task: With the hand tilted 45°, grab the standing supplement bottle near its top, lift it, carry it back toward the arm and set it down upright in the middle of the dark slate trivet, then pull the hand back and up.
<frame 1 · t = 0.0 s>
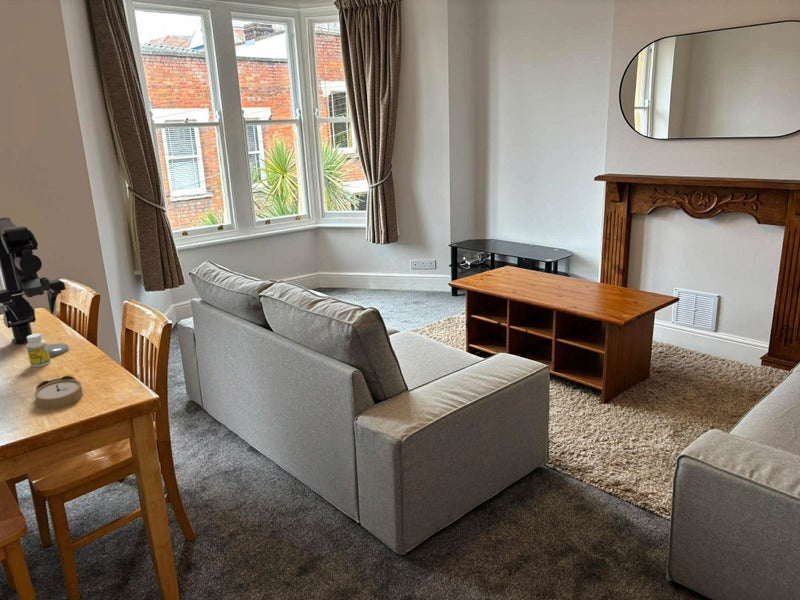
hand: (36, 317, 190), 15 cm above the table, tool pointing down, fingers open, 9 cm apart
alarm clock: (60, 398, 168), on the table
supplement bottle: (41, 364, 192), on the table
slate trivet: (50, 352, 202), on the table
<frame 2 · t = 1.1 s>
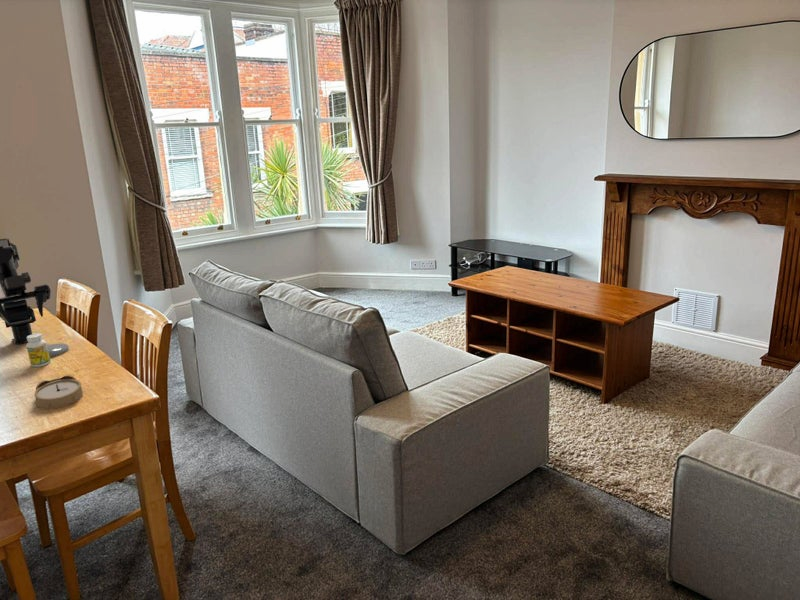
hand: (26, 319, 193), 13 cm above the table, tool tilted 45°, fingers open, 9 cm apart
nothing on the table moved.
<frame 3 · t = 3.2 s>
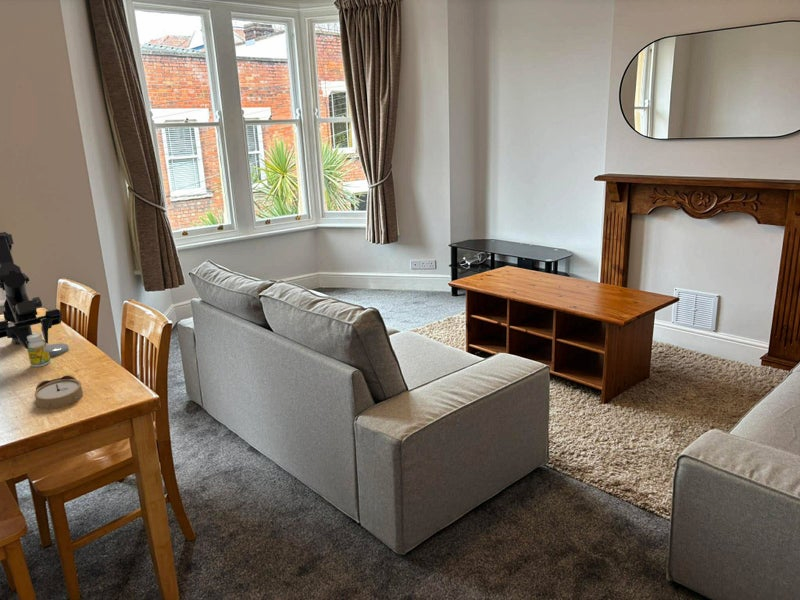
hand: (37, 345, 189), 7 cm above the table, tool tilted 45°, fingers closed on supplement bottle, 5 cm apart
supplement bottle: (41, 364, 192), on the table, touching gripper
everything else where it was.
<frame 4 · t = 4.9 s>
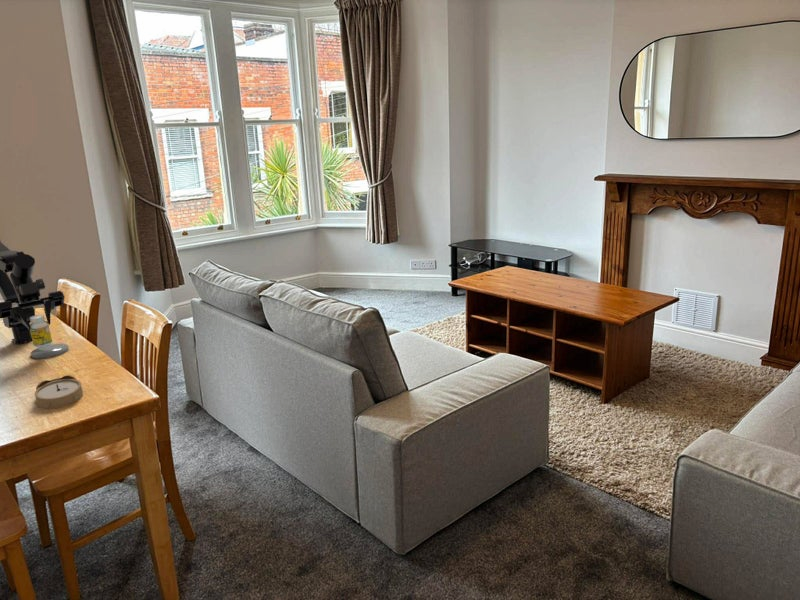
hand: (39, 326, 194), 11 cm above the table, tool tilted 45°, fingers closed on supplement bottle, 5 cm apart
supplement bottle: (43, 345, 197), point 4 cm above the table, touching gripper
everything else where it was.
when the fingers open (8 cm above the table, at t = 6.3 s): supplement bottle stays where it is, resting on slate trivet.
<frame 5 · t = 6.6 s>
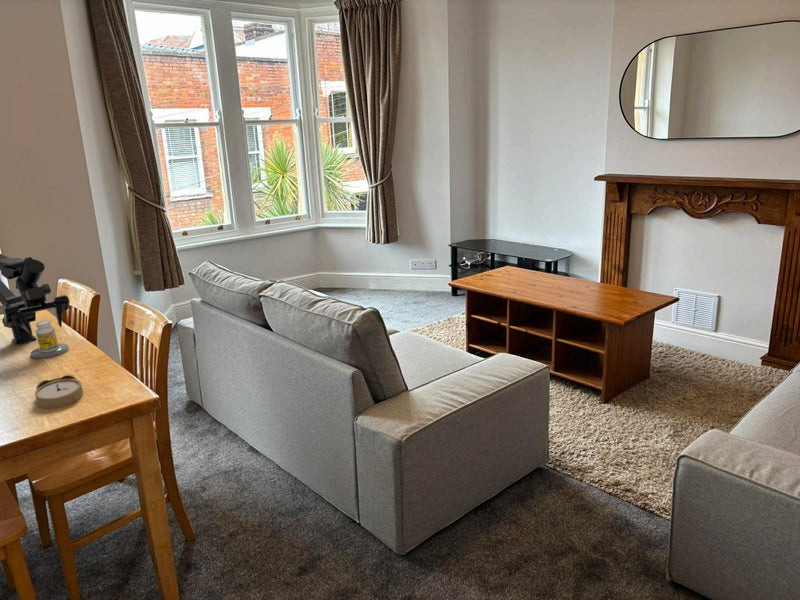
hand: (46, 329, 198), 8 cm above the table, tool tilted 45°, fingers open, 8 cm apart
supplement bottle: (50, 350, 201), point 1 cm above the table, touching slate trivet
everything else where it was.
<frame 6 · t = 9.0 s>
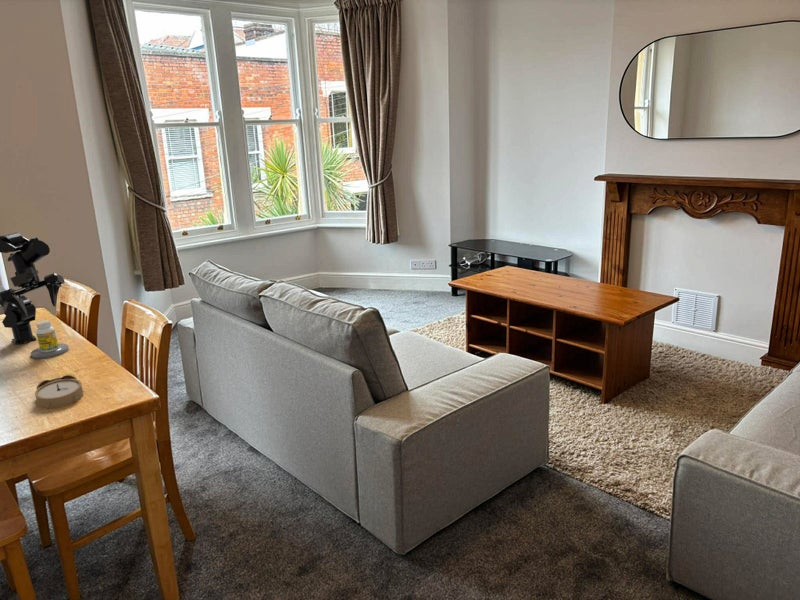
hand: (40, 311, 202), 13 cm above the table, tool tilted 30°, fingers open, 9 cm apart
nothing on the table moved.
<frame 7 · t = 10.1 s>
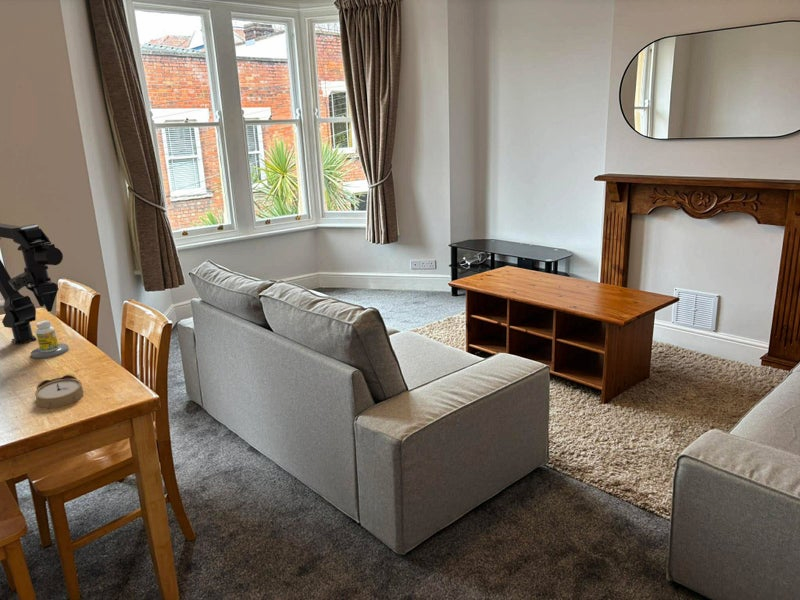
hand: (45, 308, 205), 13 cm above the table, tool pointing down, fingers open, 9 cm apart
nothing on the table moved.
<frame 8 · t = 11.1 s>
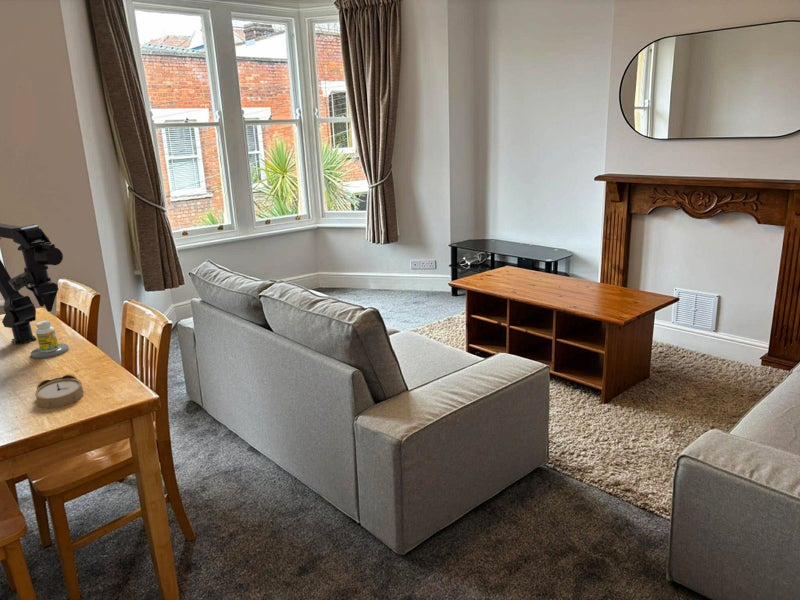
hand: (45, 308, 205), 13 cm above the table, tool pointing down, fingers open, 9 cm apart
nothing on the table moved.
at the end: supplement bottle 0.3 cm from the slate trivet (horizontally); supplement bottle tilted 0°; supplement bottle touching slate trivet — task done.
